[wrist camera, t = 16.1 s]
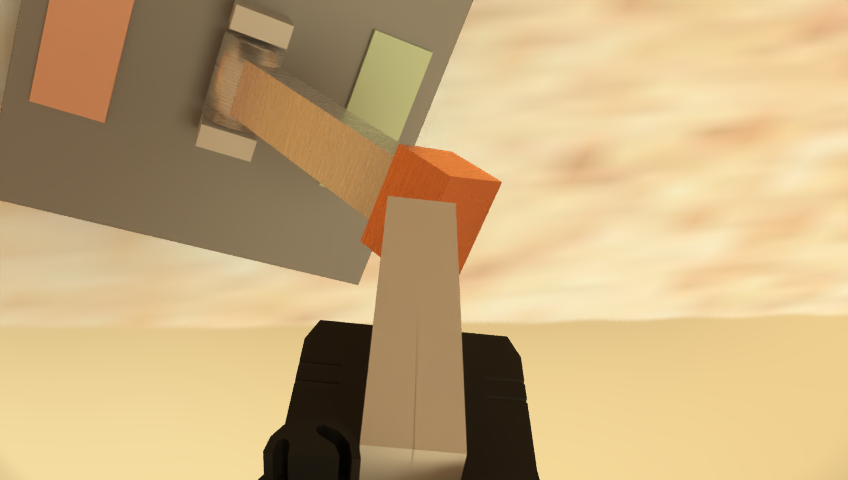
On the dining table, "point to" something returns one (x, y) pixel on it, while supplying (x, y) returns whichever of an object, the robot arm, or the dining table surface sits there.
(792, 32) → the dining table surface
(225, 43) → the lever
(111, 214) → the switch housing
